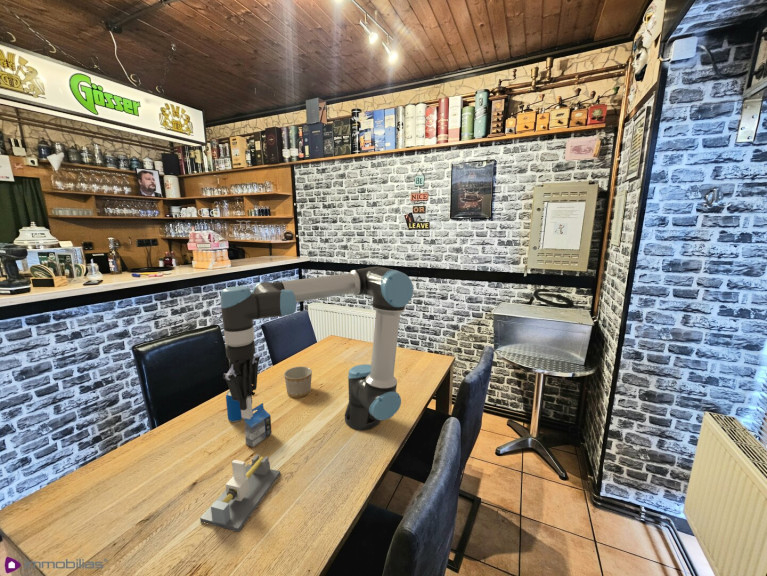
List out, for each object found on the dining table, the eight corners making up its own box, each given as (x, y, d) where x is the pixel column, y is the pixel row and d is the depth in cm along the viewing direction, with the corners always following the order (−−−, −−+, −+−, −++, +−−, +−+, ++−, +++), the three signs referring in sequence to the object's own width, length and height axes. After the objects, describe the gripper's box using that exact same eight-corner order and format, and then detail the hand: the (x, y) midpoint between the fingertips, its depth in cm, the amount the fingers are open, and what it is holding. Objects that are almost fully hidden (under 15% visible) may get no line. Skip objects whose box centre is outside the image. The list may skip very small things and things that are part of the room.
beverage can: (238, 423, 127) (236, 397, 124) (224, 421, 128) (221, 395, 125) (248, 414, 133) (246, 388, 130) (234, 412, 134) (232, 387, 132)
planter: (279, 396, 147) (278, 375, 145) (296, 383, 159) (295, 364, 156) (301, 402, 142) (301, 381, 140) (317, 388, 154) (317, 369, 152)
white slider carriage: (249, 491, 92) (246, 462, 90) (240, 501, 88) (238, 471, 86) (235, 487, 93) (232, 459, 91) (227, 497, 89) (223, 468, 87)
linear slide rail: (280, 474, 101) (279, 457, 100) (238, 532, 82) (236, 512, 81) (248, 467, 104) (246, 451, 103) (200, 521, 85) (198, 502, 84)
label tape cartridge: (252, 448, 113) (250, 417, 110) (245, 444, 115) (242, 414, 112) (272, 434, 121) (270, 405, 118) (265, 431, 122) (263, 402, 120)
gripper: (243, 332, 95) (250, 403, 99) (211, 349, 82) (220, 428, 87) (265, 335, 93) (271, 406, 98) (235, 352, 80) (243, 433, 85)
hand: (247, 416), depth 92 cm, fingers closed
